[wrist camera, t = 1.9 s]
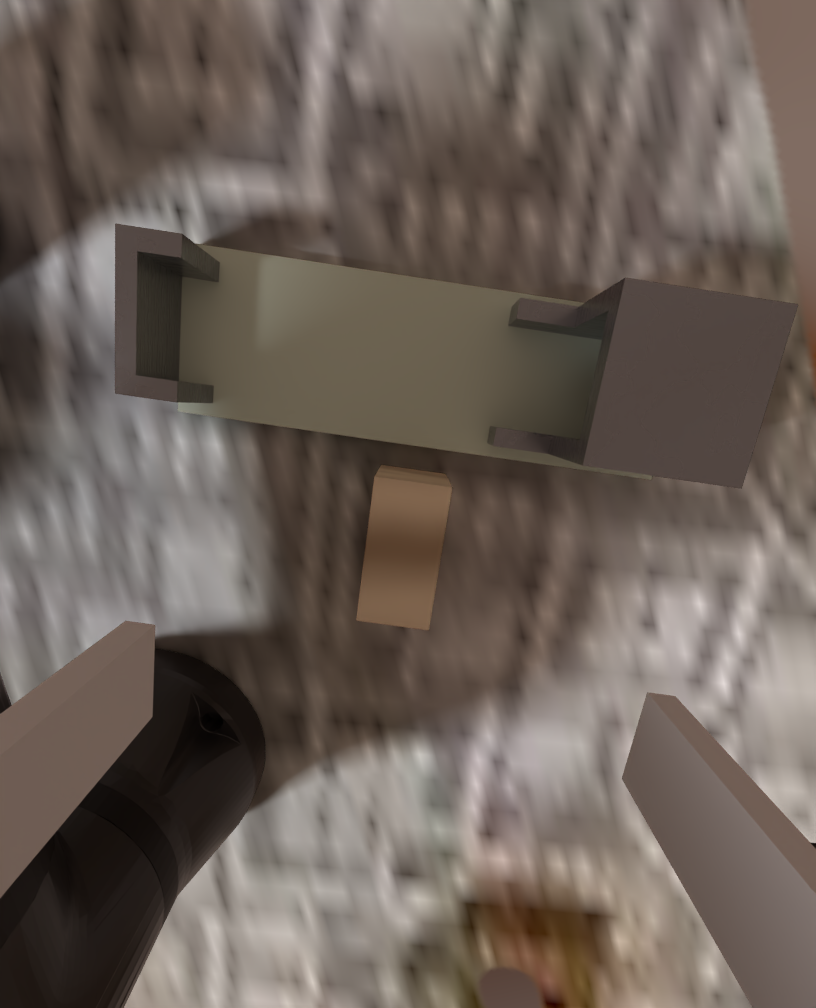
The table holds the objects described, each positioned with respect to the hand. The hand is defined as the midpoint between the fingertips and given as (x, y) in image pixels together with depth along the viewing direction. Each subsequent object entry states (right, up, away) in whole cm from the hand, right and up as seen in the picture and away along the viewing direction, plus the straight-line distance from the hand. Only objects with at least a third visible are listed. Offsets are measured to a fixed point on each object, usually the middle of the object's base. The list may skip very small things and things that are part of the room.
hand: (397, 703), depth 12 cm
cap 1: (-12, +15, +13) cm, 23 cm away
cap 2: (+10, +12, +13) cm, 21 cm away
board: (+1, +13, +14) cm, 19 cm away
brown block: (0, +4, +16) cm, 17 cm away
